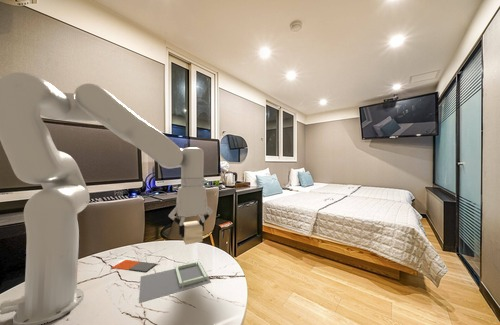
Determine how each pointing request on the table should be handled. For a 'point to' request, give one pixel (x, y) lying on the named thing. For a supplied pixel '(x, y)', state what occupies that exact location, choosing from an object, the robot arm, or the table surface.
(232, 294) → the table surface
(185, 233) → the card box
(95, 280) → the table surface
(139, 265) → the phone
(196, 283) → the mat
